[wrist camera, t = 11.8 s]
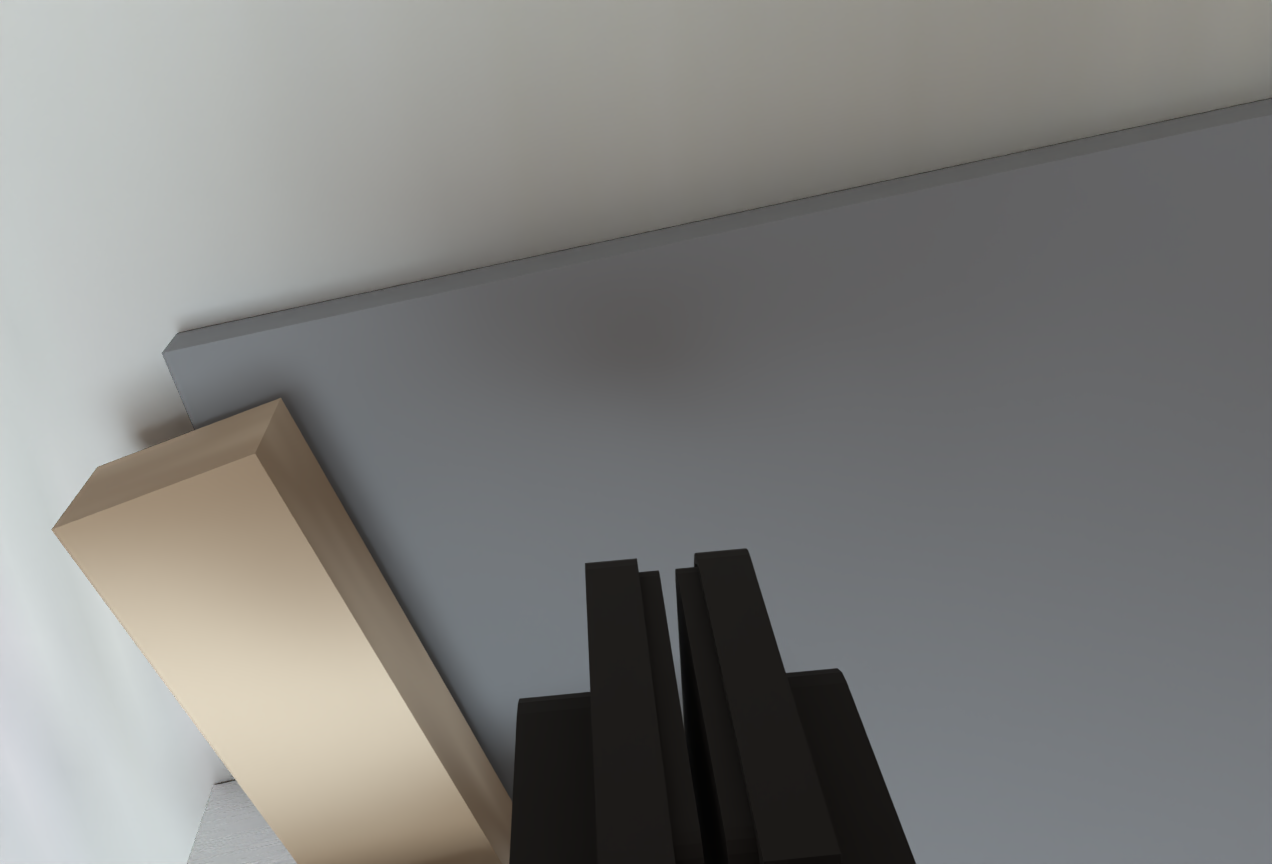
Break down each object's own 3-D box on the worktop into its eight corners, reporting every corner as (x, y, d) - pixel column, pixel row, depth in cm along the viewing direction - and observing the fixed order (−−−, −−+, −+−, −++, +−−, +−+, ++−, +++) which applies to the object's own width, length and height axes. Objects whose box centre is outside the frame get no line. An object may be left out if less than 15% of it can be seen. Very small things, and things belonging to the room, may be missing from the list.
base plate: (1348, 81, 17) (1385, 89, 16) (1249, 932, 26) (1270, 961, 25) (176, 333, 16) (162, 352, 16) (495, 1100, 25) (494, 1134, 25)
